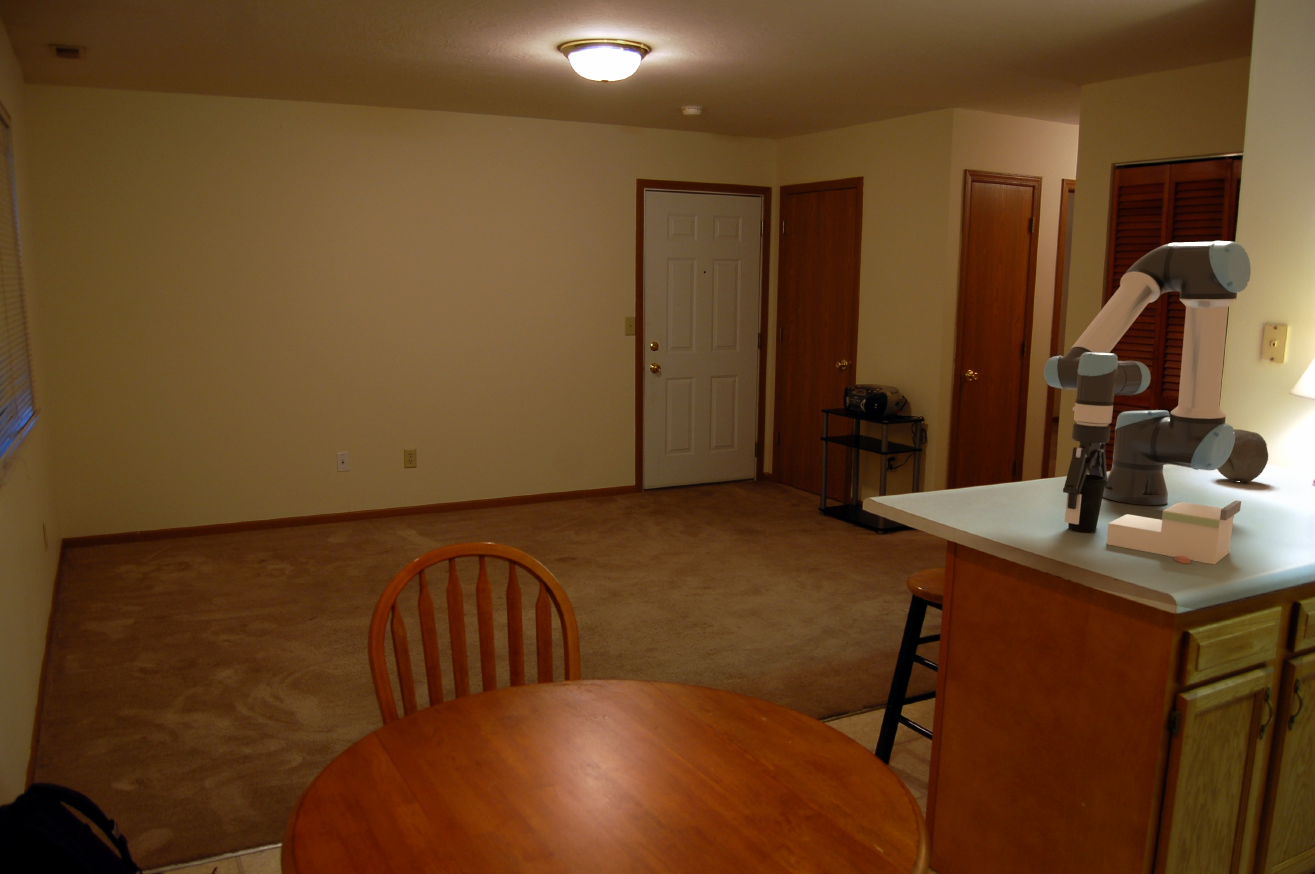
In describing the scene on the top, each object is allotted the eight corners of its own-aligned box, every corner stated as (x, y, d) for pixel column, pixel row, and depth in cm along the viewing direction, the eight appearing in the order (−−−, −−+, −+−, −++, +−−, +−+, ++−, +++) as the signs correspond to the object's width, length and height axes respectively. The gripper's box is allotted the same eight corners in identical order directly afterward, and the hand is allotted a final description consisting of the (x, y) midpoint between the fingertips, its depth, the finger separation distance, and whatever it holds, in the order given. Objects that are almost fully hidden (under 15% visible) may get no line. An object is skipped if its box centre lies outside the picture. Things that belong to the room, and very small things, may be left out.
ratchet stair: (1125, 533, 203) (1130, 484, 201) (1235, 553, 189) (1241, 500, 187) (1100, 547, 191) (1105, 495, 190) (1215, 569, 177) (1222, 513, 175)
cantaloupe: (1277, 486, 259) (1284, 434, 257) (1226, 485, 260) (1233, 432, 257) (1246, 477, 273) (1252, 426, 271) (1198, 475, 273) (1204, 425, 271)
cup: (1105, 535, 202) (1110, 481, 200) (1067, 532, 203) (1072, 479, 201) (1095, 526, 209) (1100, 474, 207) (1059, 524, 210) (1064, 472, 209)
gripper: (1093, 417, 214) (1084, 506, 217) (1053, 426, 196) (1044, 523, 199) (1128, 420, 209) (1118, 512, 212) (1090, 430, 191) (1080, 530, 194)
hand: (1082, 518), depth 205 cm, fingers open, 13 cm apart
